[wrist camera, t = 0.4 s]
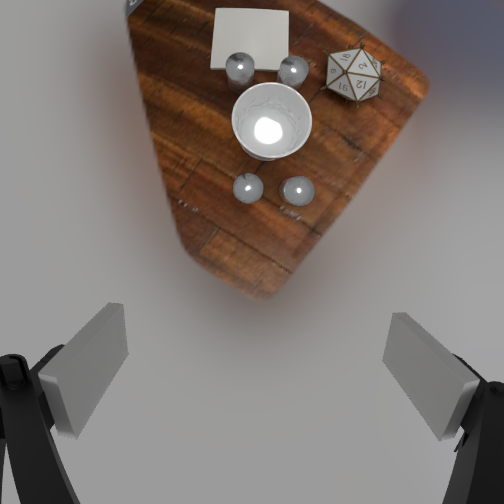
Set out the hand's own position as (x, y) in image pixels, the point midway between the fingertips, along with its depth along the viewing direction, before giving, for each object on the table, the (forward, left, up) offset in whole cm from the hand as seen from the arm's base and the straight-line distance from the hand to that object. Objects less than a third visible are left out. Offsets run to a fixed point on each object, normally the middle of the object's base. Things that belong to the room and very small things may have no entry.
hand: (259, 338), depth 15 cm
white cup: (-14, +1, -28) cm, 31 cm away
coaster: (-28, -1, -28) cm, 39 cm away
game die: (-22, +12, -28) cm, 38 cm away
